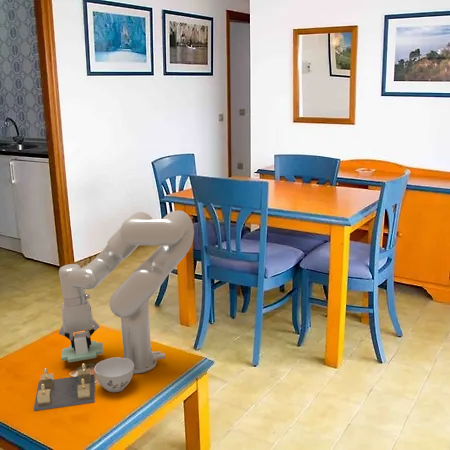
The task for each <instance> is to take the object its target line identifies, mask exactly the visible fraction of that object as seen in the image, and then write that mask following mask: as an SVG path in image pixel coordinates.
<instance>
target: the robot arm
mask: <svg viewBox="0 0 450 450" xmlns="http://www.w3.org/2000/svg"><path fill="white" fill-rule="evenodd" d="M194 228H195V227H194V224H193V221H192V218H191V216H190V215H188V213H186V212H185V211H183V210H174V211H173V210H172V211H170V212H169V213H167V214H166V215H165V216H164V217H162V218H161V219H160V218H158V219H157V218H155V219H153V217H152V215H150V214H149V213H146V212H144V211H139V212H135V213H133V214H132V215H130V217H128V218H127V219H125V221H123V223H122V224H121V226H120V228H119V229H118V230H116V232H114V234H113V235H112V236H111V237H109V239H108V241H107V245H106V246H105V247H104V248H103V249H102V251H101V252H99V254H98V255H97V256H95V258H94V259H93V260H92V261H90V262H89V263H87V264H86V265H85V266H81V265H79V264H77V263H70V264H66V265H65V264H64V265H63V266H61V267H60V268H59V270H58V275H59V276H58V277H59V280H60V281H59V282H60V289H61V294H62V301H63V303H62V304H61V305H62V306H61V318H62V325H61V326H60V328H59V331H58V334H59V335H60V336H64V337H65V338H67V339H68V340H69V341H70V345H72V348H74V351H76V350H75V343H74V334H75V333H78V332H86V341H87V347H88V349H89V348H90V345H91V341H92V340H91V339H92V338H91V337H92V335H93V334H94V333H95V332H96V331H97V330H98V329H99V328H100V325H99V323H98V322H97V321H96V320H95V319H94V315H93V312H92V308H91V305H90V301H89V300H88V299H90V298H91V296H90V294H88V293H86V290H93V289H95V288H97V287H98V286H99V285H100V284H101V282H103V281H104V280H105V279H106V278H107V277H108V276H109V275H110V274H111V273H112V272H113V271H114V270H115V269H116V268H117V267H118V266H119V265H120V263H122V262H123V261H125V260H126V259H127V258H129V256H130V255H132V253H133V252H134V251H135V250H137V248H138V247H139V246H140V247H141V246H142V247H143V246H144V247H147V246H149V247H150V246H153V247H154V246H155V247H156V246H158V247H157V248H156V250H155V251H153V253H152V254H151V255H150V256H149V257H148V258H147V259H145V260H144V261H143V262H142V263H141V264H140V265H139V266H137V267H136V268H135V270H134V271H133V272H132V273H131V274H130V275H129V276H128V277H127V278H126V280H124V282H123V283H121V284H120V286H118V288H117V289H116V290H115V291H114V292H113V293H112V295H111V296H110V300H109V308H110V311H111V313H112V314H113V315H115V316H116V317H118V318H120V324H121V325H120V326H121V327H120V329H121V339H122V348H123V350H122V351H123V358H127V359H129V360H131V361H132V362H133V363H134V371H133V375H134V374H135V375H136V374H143V373H146V372H150V371H151V370H152V369H154V368H155V367H156V366H157V363H158V362H157V360H163V359H166V353H165V352H161V350H159V351H158V350H156V351H154V350H152V343H151V332H150V331H151V328H150V311H149V309H150V308H149V307H150V299H151V298H152V296H154V294H156V292H157V291H158V290H159V288H160V287H161V286H162V284H163V283H164V281H165V280H166V278H168V276H169V275H170V274H171V273H172V272H173V270H175V268H176V267H177V266H178V265H179V264H180V262H181V261H182V260H183V259H184V258H185V257H186V256H187V253H189V251H190V249H191V247H192V244H193V241H194V236H195V229H194ZM81 267H82V268H81Z"/></svg>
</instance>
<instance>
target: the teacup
mask: <svg viewBox="0 0 450 450" xmlns="http://www.w3.org/2000/svg"><path fill="white" fill-rule="evenodd" d="M93 369H94V375H95V378H96V379H97V382H98V383H99V385H100V386H101V387H102V388H104V389H105V390H106V391H107V392H109V393H118V392H119V393H120V392H122V391H123V390H124V389H126V387H127V386H128V385H129V384H130V382H131V380H132V378H133V375H134V374H133V371H134V363H133V362H132V361H131V360H129V359H127V358H124V357H110V358H106V359H104V360H103V359H102V360H101V361H99V362H98V363H96V365H95V366H94V368H93Z"/></svg>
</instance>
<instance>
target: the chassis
mask: <svg viewBox="0 0 450 450" xmlns="http://www.w3.org/2000/svg"><path fill="white" fill-rule="evenodd" d="M81 367H82V368H80V369H78V375H76V376H71V377H69V376H68V377H62V378H57V379H54V373H53V372H51V373H48V372H49V371H48V368H47V367H45V368H44V369H43V370H44V371H43V372H44V373H43V374H40V381H38V385H37V390H36V394H35V400H34V405H33V411H34V412H36V411H43V410H51V409H57V408H64V407H71V406H77V405H78V406H79V405H86V404H93V403H95V393H96V392H95V386H96V385H95V380H96V379H95V378H96V375H95V373H92V374H91V368H90V367H88V368H86V363H85V362H84V363H82V364H81Z"/></svg>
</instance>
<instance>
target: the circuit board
mask: <svg viewBox="0 0 450 450" xmlns="http://www.w3.org/2000/svg"><path fill="white" fill-rule="evenodd" d="M73 336H74V343H75V350H76V351H74V348H72V345H71V344H69V345H68V347H65V348H62V352H61V362H64V361H67V363H73V362H80V361H86V360H91V359H96V358H97V356H98V355H103V354H104V348H103V347H104V346H103V345H104V344H103V342H102V341H101V342H98V341H97V340H91V345H90V348H89V349H88V347H87V341H86V332H85V331H79V332H74V334H73Z"/></svg>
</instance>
